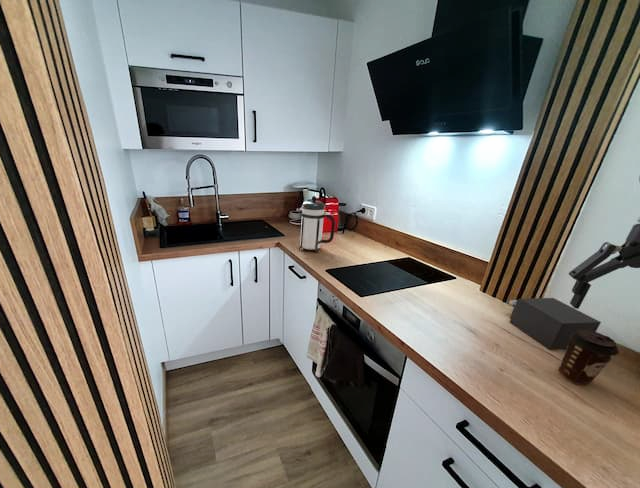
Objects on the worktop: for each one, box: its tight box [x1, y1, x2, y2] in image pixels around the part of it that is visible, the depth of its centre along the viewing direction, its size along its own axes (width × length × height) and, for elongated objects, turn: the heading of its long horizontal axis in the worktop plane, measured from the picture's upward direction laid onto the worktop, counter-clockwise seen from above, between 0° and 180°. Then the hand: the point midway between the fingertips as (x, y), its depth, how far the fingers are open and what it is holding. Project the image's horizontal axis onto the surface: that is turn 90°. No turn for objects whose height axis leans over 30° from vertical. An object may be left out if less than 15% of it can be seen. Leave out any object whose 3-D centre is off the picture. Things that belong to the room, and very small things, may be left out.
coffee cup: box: [557, 330, 620, 386], centre depth 74 cm, size 9×8×13 cm
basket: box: [508, 298, 520, 320], centre depth 95 cm, size 18×11×8 cm, turn 5°
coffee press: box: [298, 196, 336, 254], centre depth 159 cm, size 17×16×30 cm
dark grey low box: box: [509, 297, 602, 351], centre depth 92 cm, size 15×13×10 cm
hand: (610, 313), depth 68 cm, fingers open, 13 cm apart
